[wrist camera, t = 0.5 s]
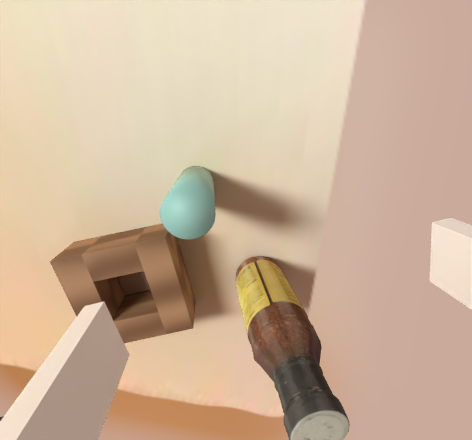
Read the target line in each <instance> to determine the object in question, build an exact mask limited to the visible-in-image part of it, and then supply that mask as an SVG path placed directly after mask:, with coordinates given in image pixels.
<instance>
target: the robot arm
mask: <svg viewBox="0 0 472 440" xmlns="http://www.w3.org/2000/svg"><path fill="white" fill-rule="evenodd" d="M430 282H431V283H433V284H434V285H436V286H437V287H439V288H440V289H442V290H443V291H445V292H446V293H448V294H449V295H451V296H452V297H453V298H455V299H457V300H458V301H459V302H461V303H462V304H464V305H465V306H467V307H468V308H470V309H471V310H472V225H470V224H467V223H464V222H461V221H458V220H456V219H453V218H448V219H443V220H439V221H435V222H432V235H431V259H430ZM128 357H129V353H128V351H127V349H126V347H125V345H124V342H123V340H122V338H121V336H120V334H119V332H118V330H117V328H116V325H115V323H114V321H113V319H112V317H111V315H110V313H109V311H108V308H107V306H106V304H105V302H99V303H95V304H91V305H87V306H84V308H83V309H82V310H81V312H80V313H79V314H78V316H77V317H76V319H75V320H74V321H73V323H72V324H71V325H70V327H69V328H68V329H67V331H66V332H65V334H64V335H63V336H62V338H61V339H60V340H59V342H58V343H57V345H56V346H55V347H54V349H53V350H52V351H51V353H50V354H49V356H48V357H47V358H46V360H45V361H44V362H43V364H42V365H41V366H40V368H39V369H38V371H37V372H36V373H35V375H34V376H33V377H32V379H31V380H30V382H29V383H28V384H27V386H26V387H25V389H24V390H23V391H22V392H21V394H20V395H19V397H18V398H17V399H16V401H15V402H14V403H13V405H12V406H11V408H10V409H9V410H8V412H7V413H6V415H5V416H3V417H0V440H98V438H99V436H100V433H101V430H102V428H103V425H104V422H105V419H106V417H107V414H108V411H109V408H110V405H111V403H112V400H113V398H114V395H115V392H116V390H117V387H118V384H119V381H120V379H121V376H122V373H123V371H124V368H125V365H126V362H127V360H128Z"/></svg>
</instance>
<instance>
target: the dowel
mask: <svg viewBox="0 0 472 440" xmlns="http://www.w3.org/2000/svg"><path fill="white" fill-rule="evenodd" d="M160 217H161V221H162V223H163V225H164V227H165V228H166V229H167V230H168V232H170V233H171V234H172V235H174V236H176V237H178V238H181V239H196V238H199V237H201V236H203V235H205V234H206V233H207V232H208V231H209V230H210V229H211V227H212V226H213V224H214V221H215V197H214V181H213V177H212V175H211V173H210V172H209V171H208V170H207V169H205V168H203V167H200V166H192V167H189V168H187V169H186V170H184V171H183V173H182V174H181V176H180V177H179V178H178V180H177V181H176V183H175V184H174V186H173V187H172V189H171V190H170V191H169V193H168V194H167V196H166V197H165V199H164V200H163V202H162V205H161V208H160Z"/></svg>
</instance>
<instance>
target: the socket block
mask: <svg viewBox="0 0 472 440" xmlns="http://www.w3.org/2000/svg"><path fill="white" fill-rule="evenodd" d="M50 263H51V265H52V267H53V269H54V271H55V273H56V275H57V277H58V279H59V281H60V283H61V285H62V287H63V289H64V291H65V293H66V295H67V297H68V300H69V302H70V304H71V306H72V308H73V310H74V312H75V314H76V316H78V314H79V313H80V312H81V310H82V309H83V308H84V306H87V305H91V304H95V303H99V302H105V304H106V306H107V308H108V311H109V313H110V315H111V317H112V319H113V321H114V323H115V325H116V328H117V330H118V332H119V334H120V336H121V338H122V340H123V342H124V343H128V342H132V341H137V340H141V339H146V338H150V337H155V336H160V335H164V334H169V333H173V332H178V331H183V330H187V329H192V328H193V323H194V312H195V299H194V295H193V292H192V289H191V285H190V282H189V278H188V275H187V271H186V268H185V264H184V261H183V258H182V254H181V251H180V247H179V244H178V240H177V237H176V236H174V235H172V234H171V233H170V232H168V230H167V229H166V228H165V227H164V225H163V224H159V225H154V226H149V227H144V228H139V229H135V230H130V231H125V232H120V233H115V234H110V235H106V236H101V237H96V238H91V239H86V240H81V241H77V242H74V243H72V244H71V245H70V246H69V247H67V248H66V249H65V250H64V251H63V252H61V253H60V254H59V255H58V256H56V257H55V258H54V259H53V260H51V261H50ZM142 271H144V273H145V276H146V279H147V281H148V284H149V287H150V290H151V291H146V292H141V293H137V294H132V295H127V296H125V295H124V293H123V290H122V288H121V285H120V283H119V280H118V278H117V277H118V276H123V275H128V274H132V273H137V272H142Z"/></svg>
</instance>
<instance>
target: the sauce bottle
mask: <svg viewBox="0 0 472 440" xmlns="http://www.w3.org/2000/svg"><path fill="white" fill-rule="evenodd" d="M236 288H237V292H238V297H239V301H240V306H241V310H242V314H243V318H244V322H245V327H246V331H247V335H248V339H249V342H250V344H251V346H252V351H253V355H254V360H255V361H256V362H257V363H258V364H259V365H260V366H261V367H262V368H263V369H264V371H265V372H266V373H267V374H268V375H269V377H270V378H271V379H272V380H273V381H274V383H275V388H276V390H277V391H278V393H279V398H280V400H281V404H282V408H283V412H284V425H285V428H286V431H287V433H288V437H289V440H343V439H344V438H345V436H346V435H347V433H348V431H349V426H350V425H349V420H348V417H347V415H346V413H345V411H344V409H343V407H342V405H341V403H340V401H339V399H337V398H336V397H335V396H334V395H333V394H332V391H331V390H330V388H329V386H328V384H327V382H326V380H325V378H324V376H323V372H322V369H321V367H320V366H319V363H320V353H321V343H320V340H319V338H318V336H317V334H316V332H315V330H314V327H313V326H312V325H311V323H310V321H309V319H308V316H307V314H306V312H305V310H304V309H303V307H302V305H301V304H300V302H299V300H298V299H297V297H296V295H295V294H294V292H293V290H292V288H291V287H290V285H289V283H288V281H287V280H286V278H285V276H284V274H283V273H282V271H281V269H280V268H279V267H278V266H277V265H276V264H275V263H274V262H273V261H272V260H271V259H269V258H266V257H251V258H249V259H247V260H246V261H244V262H243V263H242V264H241V265H240V266H239V268H238V269H237V273H236Z"/></svg>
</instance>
